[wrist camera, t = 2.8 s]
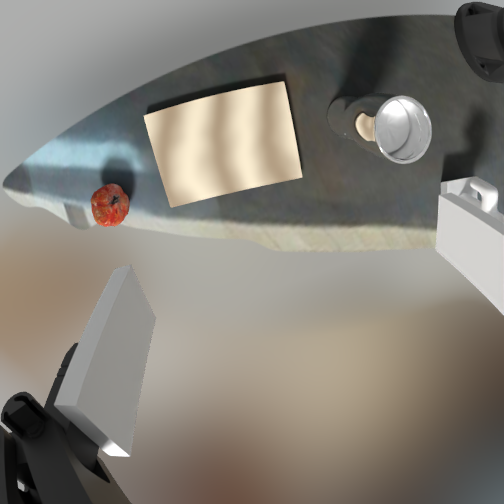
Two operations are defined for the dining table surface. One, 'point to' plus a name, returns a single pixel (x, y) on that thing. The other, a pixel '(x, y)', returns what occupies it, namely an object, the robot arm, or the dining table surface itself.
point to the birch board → (225, 143)
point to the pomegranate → (109, 205)
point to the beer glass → (383, 125)
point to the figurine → (475, 194)
